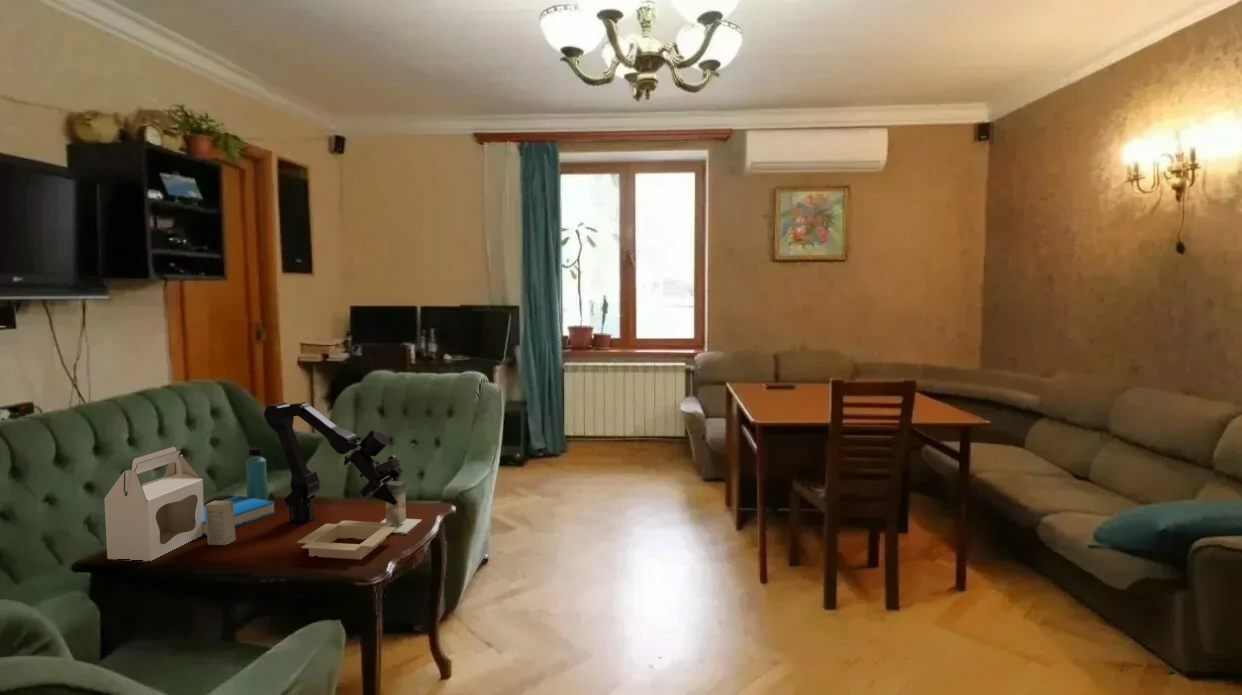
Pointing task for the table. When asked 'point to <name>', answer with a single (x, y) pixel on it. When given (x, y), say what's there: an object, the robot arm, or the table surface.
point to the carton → (328, 533)
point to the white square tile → (404, 525)
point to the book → (245, 510)
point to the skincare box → (220, 522)
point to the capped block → (398, 511)
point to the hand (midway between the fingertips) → (399, 501)
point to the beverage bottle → (256, 475)
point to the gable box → (154, 508)
